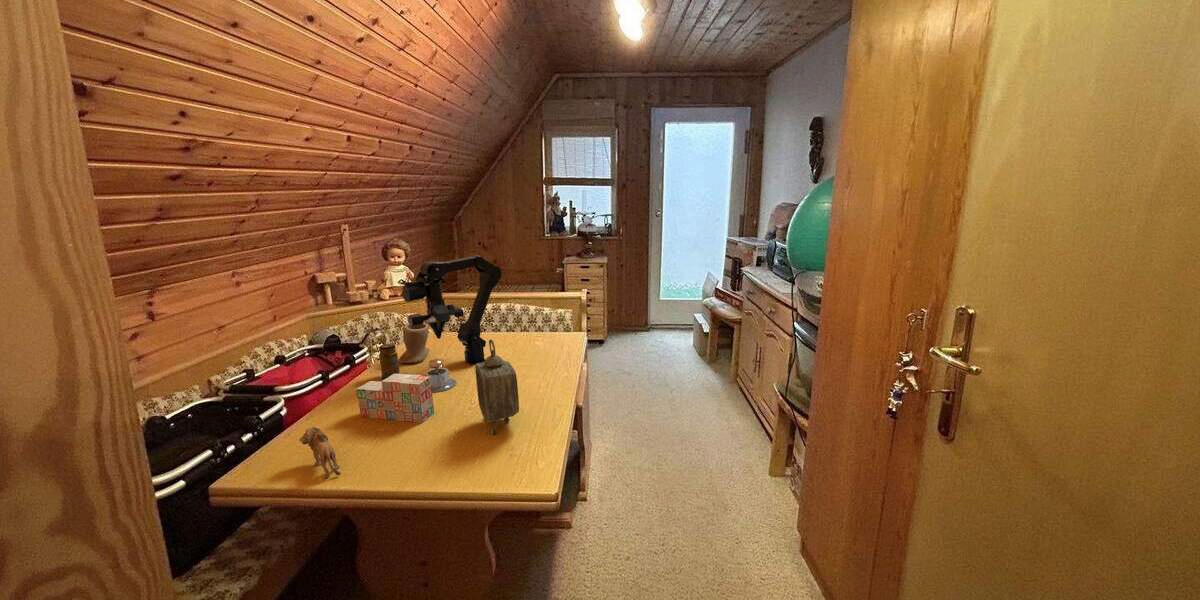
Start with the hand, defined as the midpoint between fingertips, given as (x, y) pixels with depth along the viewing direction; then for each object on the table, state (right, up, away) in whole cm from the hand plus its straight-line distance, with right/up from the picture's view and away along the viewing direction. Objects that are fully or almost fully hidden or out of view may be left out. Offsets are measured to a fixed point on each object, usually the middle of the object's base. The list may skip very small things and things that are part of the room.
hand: (438, 338), depth 174 cm
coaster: (+3, -16, -10) cm, 19 cm away
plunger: (+3, -15, -10) cm, 18 cm away
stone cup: (-15, -10, +19) cm, 26 cm away
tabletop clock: (+31, -21, -39) cm, 54 cm away
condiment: (-17, -14, -1) cm, 22 cm away
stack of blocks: (-2, -21, -31) cm, 38 cm away
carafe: (+2, -15, -11) cm, 19 cm away
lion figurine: (-9, -27, -58) cm, 64 cm away
